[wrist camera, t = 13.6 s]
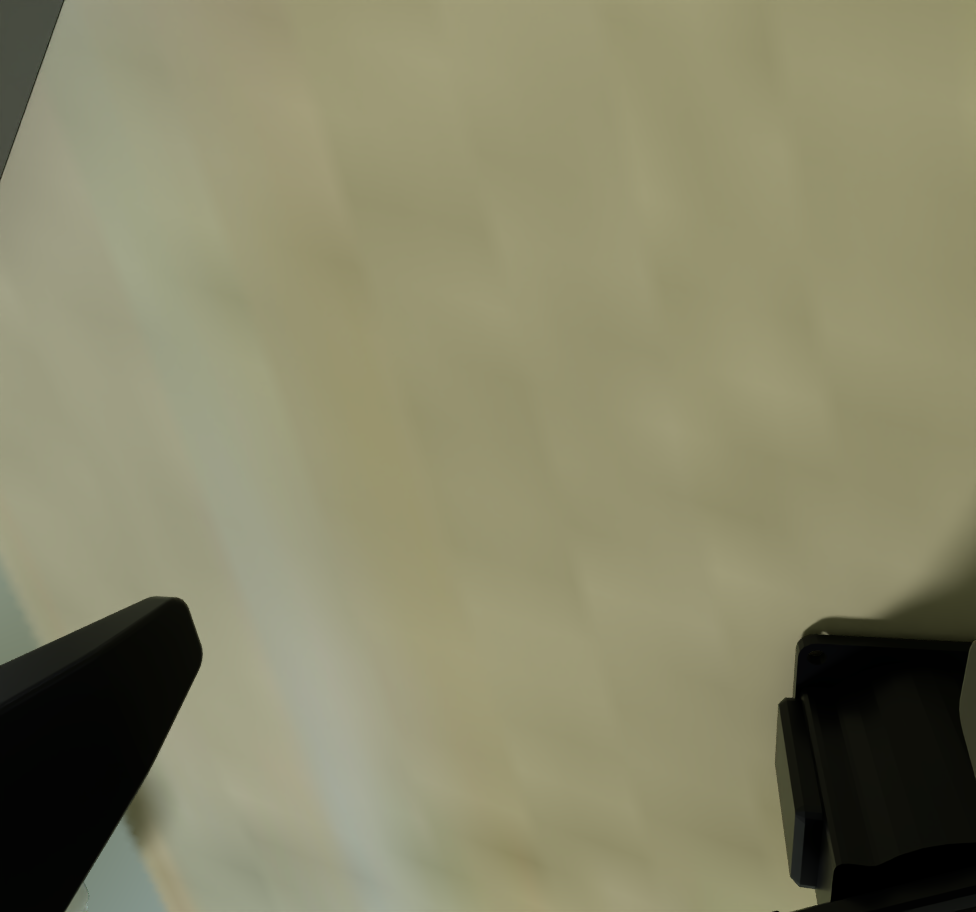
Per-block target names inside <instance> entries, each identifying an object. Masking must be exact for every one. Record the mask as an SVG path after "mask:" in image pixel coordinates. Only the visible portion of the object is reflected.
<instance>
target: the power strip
mask: <svg viewBox="0 0 976 912" xmlns="http://www.w3.org/2000/svg"><path fill="white" fill-rule="evenodd" d="M62 3H63V0H0V177H1V174H2V171H3V169H4V166H5V163H6V160H7V157H8V155H9V152H10V149H11V146H12V143H13V141H14V138H15V135H16V132H17V129H18V126H19V124H20V121H21V118H22V115H23V112H24V110H25V107H26V104H27V101H28V98H29V96H30V93H31V90H32V87H33V84H34V81H35V79H36V76H37V73H38V70H39V67H40V65H41V62H42V59H43V56H44V53H45V51H46V48H47V45H48V42H49V39H50V36H51V34H52V31H53V28H54V25H55V22H56V20H57V17H58V14H59V11H60V8H61V5H62Z"/></svg>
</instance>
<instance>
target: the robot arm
mask: <svg viewBox="0 0 976 912" xmlns="http://www.w3.org/2000/svg"><path fill="white" fill-rule="evenodd" d="M817 650H818V651H822V652H823V653H822V654H820V655H816V656H813V655H810V654H809V653H810V652H812V651H817ZM202 656H203V652H202V646H201V643H200V640H199V637H198V634H197V631H196V628H195V625H194V622H193V619H192V616H191V614H190V611H189V608H188V606H187V604H186V603H185V602H184V601H183V600H182V599H180V598H177V597H160V596H154V597H149V598H146V599H144V600H142V601H140V602H138V603H135V604H133V605H131V606H129V607H127V608H125V609H122V610H120V611H118V612H116V613H114V614H111V615H109V616H107V617H105V618H103V619H101V620H98V621H96V622H94V623H92V624H90V625H87V626H85V627H83V628H81V629H79V630H77V631H74V632H72V633H70V634H68V635H66V636H63V637H61V638H59V639H57V640H55V641H53V642H50V643H48V644H46V645H44V646H42V647H39V648H37V649H35V650H33V651H31V652H29V653H26V654H24V655H22V656H20V657H18V658H15V659H14V660H11V661H9V662H7V663H5V664H2V665H0V912H65V911H66V910H67V908H68V906H69V905H70V903H71V901H72V900H73V898H74V897H75V895H76V893H77V892H78V890H79V888H80V887H81V885H82V883H83V882H84V880H85V878H86V877H87V875H88V873H89V872H90V870H91V868H92V867H93V865H94V863H95V862H96V860H97V858H98V857H99V855H100V853H101V852H102V850H103V848H104V847H105V845H106V843H107V842H108V840H109V838H110V837H111V835H112V834H113V832H114V830H115V829H116V827H117V825H118V824H119V822H120V820H121V819H122V817H123V815H124V814H125V812H126V810H127V809H128V807H129V805H130V804H131V802H132V800H133V799H134V797H135V795H136V794H137V792H138V790H139V789H140V787H141V785H142V783H143V782H144V780H145V778H146V776H147V775H148V773H149V771H150V769H151V767H152V765H153V763H154V761H155V759H156V757H157V755H158V753H159V751H160V749H161V747H162V745H163V743H164V741H165V739H166V737H167V735H168V733H169V731H170V729H171V726H172V724H173V722H174V720H175V718H176V716H177V714H178V712H179V710H180V708H181V706H182V704H183V702H184V700H185V698H186V696H187V694H188V691H189V689H190V687H191V685H192V683H193V681H194V679H195V677H196V675H197V673H198V671H199V669H200V666H201V662H202ZM775 767H776V775H777V782H778V790H779V797H780V805H781V812H782V820H783V827H784V835H785V843H786V850H787V858H788V865H789V873H790V877H791V878H792V879H793V880H794V882H795V883H796V884H797V885H798V886H799V887H804V888H811V889H815V892H816V898H817V904H818V905H815V906H811V907H807V908H804V909H800V910H796V911H792V912H976V640H975V641H973V642H954V641H935V640H915V639H896V638H876V637H857V636H838V635H818V634H815V635H808V636H805V637H803V638H801V639H800V640H799V641H798V643H797V646H796V655H795V670H794V685H793V698H784V699H783V700H782V701H781V702H780V703H779V704H778V718H777V736H776V754H775ZM774 912H779V911H774Z"/></svg>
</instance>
